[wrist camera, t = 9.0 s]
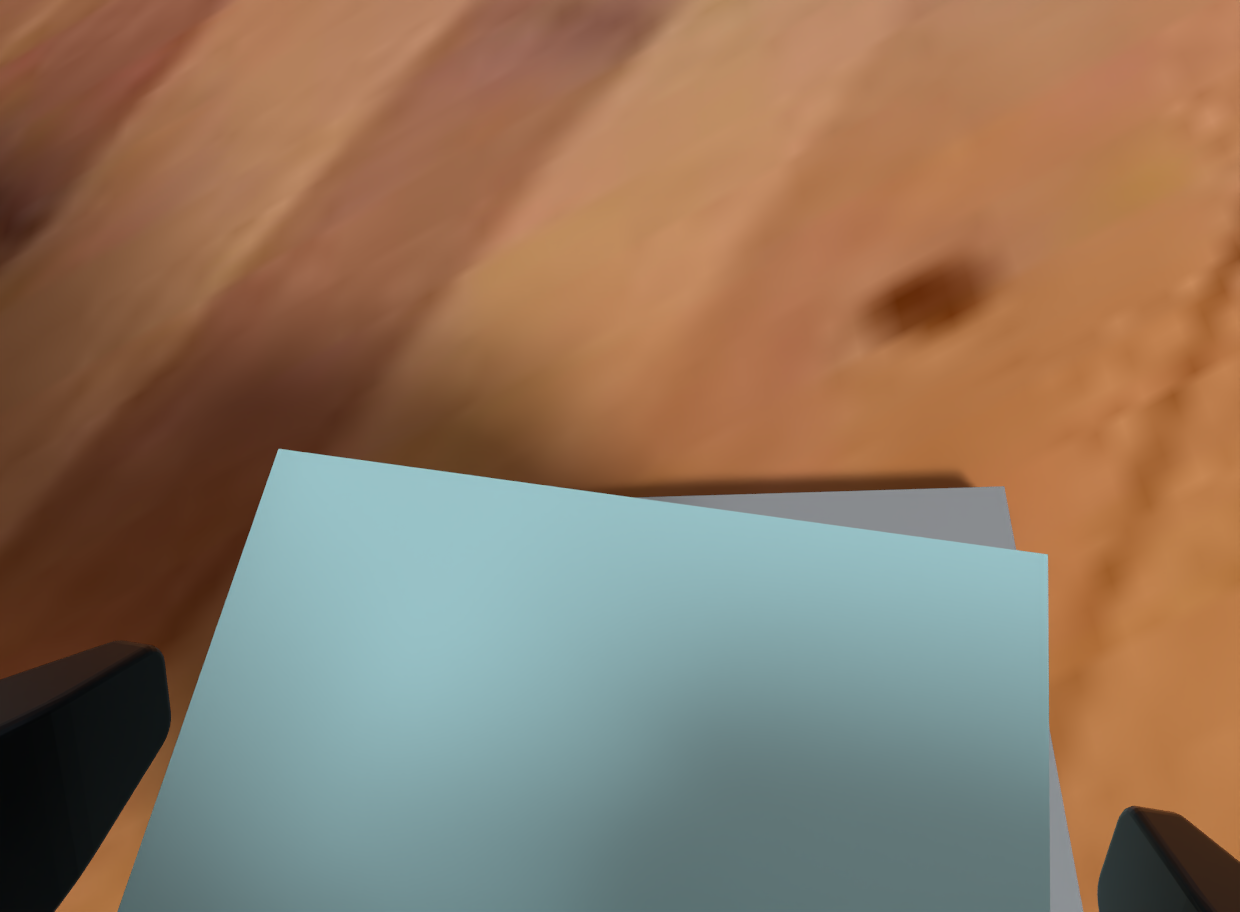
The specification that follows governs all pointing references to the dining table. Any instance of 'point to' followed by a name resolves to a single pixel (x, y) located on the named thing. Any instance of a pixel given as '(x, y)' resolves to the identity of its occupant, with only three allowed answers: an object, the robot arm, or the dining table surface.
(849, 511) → the post board
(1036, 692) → the pale blue cube block
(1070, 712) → the dining table surface
